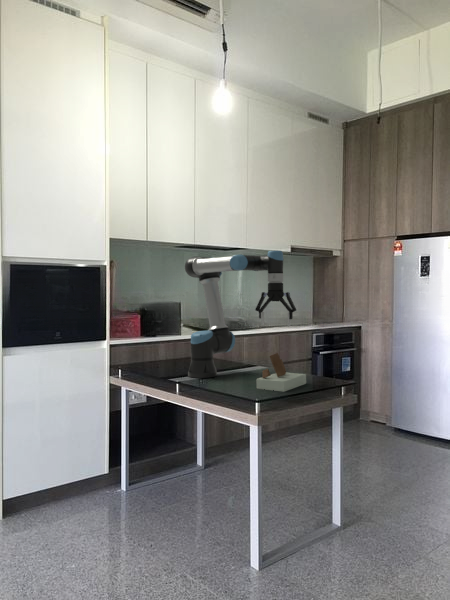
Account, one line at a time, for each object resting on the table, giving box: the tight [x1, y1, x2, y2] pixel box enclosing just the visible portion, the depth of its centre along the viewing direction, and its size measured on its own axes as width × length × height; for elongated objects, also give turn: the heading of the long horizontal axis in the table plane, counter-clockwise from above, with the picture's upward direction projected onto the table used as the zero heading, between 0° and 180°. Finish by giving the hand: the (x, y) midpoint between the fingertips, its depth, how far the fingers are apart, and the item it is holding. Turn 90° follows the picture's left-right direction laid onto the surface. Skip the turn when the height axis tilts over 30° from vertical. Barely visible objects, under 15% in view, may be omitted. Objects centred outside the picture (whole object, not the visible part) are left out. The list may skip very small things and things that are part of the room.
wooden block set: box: [262, 352, 287, 378], centre depth 233 cm, size 18×9×10 cm, turn 151°
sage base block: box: [255, 371, 307, 393], centre depth 231 cm, size 14×22×5 cm, turn 144°
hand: (275, 325), depth 244 cm, fingers open, 13 cm apart
